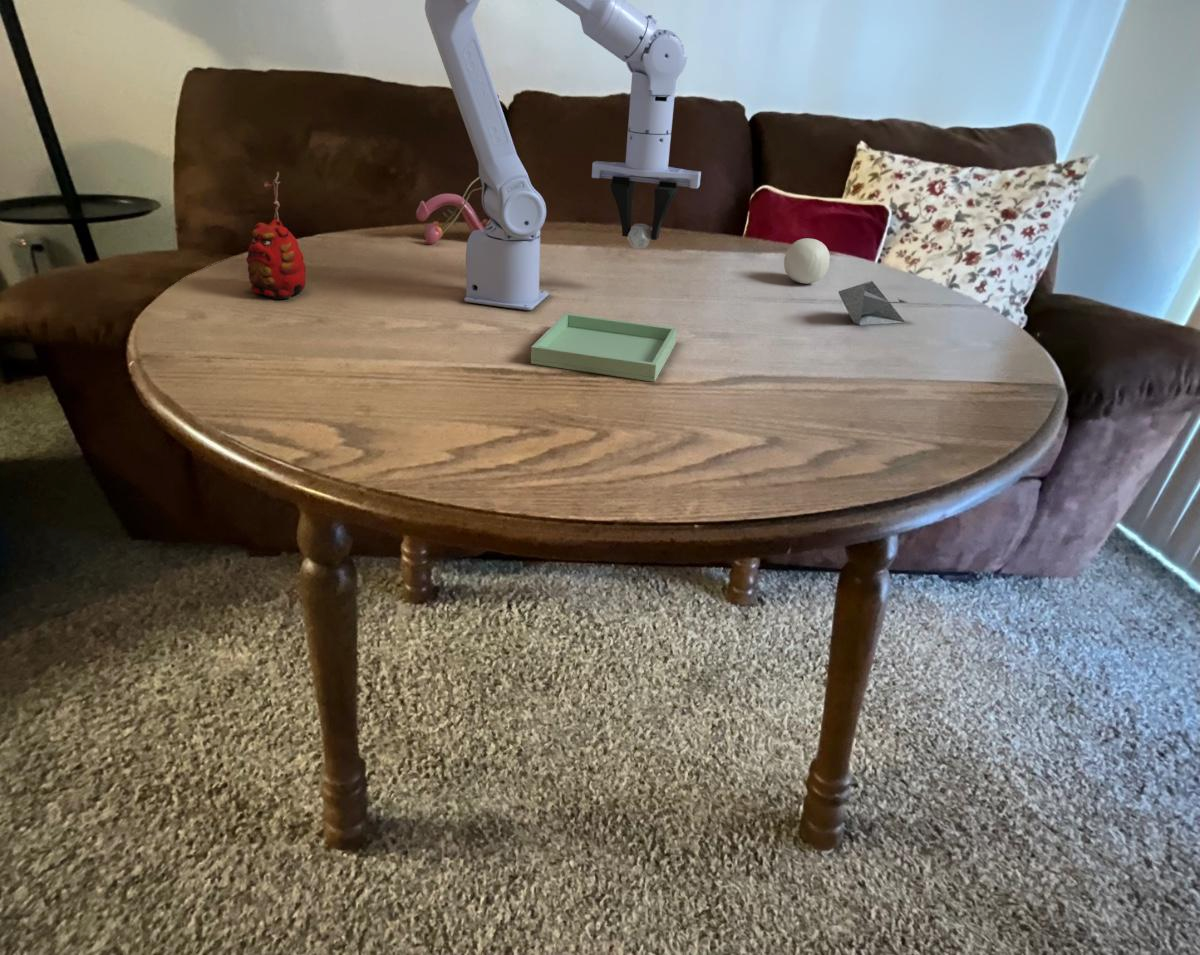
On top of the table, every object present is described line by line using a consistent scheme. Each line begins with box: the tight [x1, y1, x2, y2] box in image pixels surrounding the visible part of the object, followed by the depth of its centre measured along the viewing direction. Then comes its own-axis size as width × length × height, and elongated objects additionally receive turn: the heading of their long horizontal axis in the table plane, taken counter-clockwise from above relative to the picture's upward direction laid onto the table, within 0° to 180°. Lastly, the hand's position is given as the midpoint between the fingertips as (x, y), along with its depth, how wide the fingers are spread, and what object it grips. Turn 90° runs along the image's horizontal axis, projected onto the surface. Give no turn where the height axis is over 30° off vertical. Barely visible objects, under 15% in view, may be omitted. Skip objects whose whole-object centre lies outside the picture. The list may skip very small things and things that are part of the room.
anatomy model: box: [415, 175, 490, 245], centre depth 141 cm, size 10×14×15 cm
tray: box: [530, 312, 678, 383], centre depth 99 cm, size 14×13×2 cm
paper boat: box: [838, 280, 909, 326], centre depth 113 cm, size 12×6×9 cm
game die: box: [626, 222, 652, 250], centre depth 117 cm, size 4×4×3 cm
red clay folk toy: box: [245, 171, 307, 300], centre depth 109 cm, size 8×7×15 cm
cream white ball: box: [783, 237, 831, 285], centre depth 130 cm, size 7×7×7 cm
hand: (640, 236), depth 117 cm, fingers closed on game die, 3 cm apart
